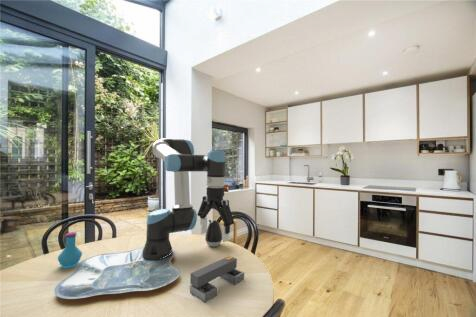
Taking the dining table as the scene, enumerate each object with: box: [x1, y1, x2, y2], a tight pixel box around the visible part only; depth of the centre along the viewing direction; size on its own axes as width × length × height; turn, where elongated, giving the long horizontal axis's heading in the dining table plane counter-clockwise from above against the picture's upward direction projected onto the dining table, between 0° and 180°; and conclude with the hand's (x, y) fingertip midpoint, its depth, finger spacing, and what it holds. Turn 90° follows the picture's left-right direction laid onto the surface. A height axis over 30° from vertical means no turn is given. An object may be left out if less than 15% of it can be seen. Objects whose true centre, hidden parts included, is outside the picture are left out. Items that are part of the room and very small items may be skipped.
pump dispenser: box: [205, 219, 223, 248], centre depth 134 cm, size 10×10×15 cm
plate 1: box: [189, 282, 218, 304], centre depth 84 cm, size 9×6×3 cm, turn 48°
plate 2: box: [219, 268, 245, 286], centre depth 96 cm, size 9×6×3 cm, turn 48°
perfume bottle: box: [57, 231, 83, 269], centre depth 105 cm, size 9×9×15 cm
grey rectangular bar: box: [189, 255, 238, 292], centre depth 91 cm, size 4×22×8 cm, turn 138°
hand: (214, 236), depth 93 cm, fingers open, 13 cm apart
